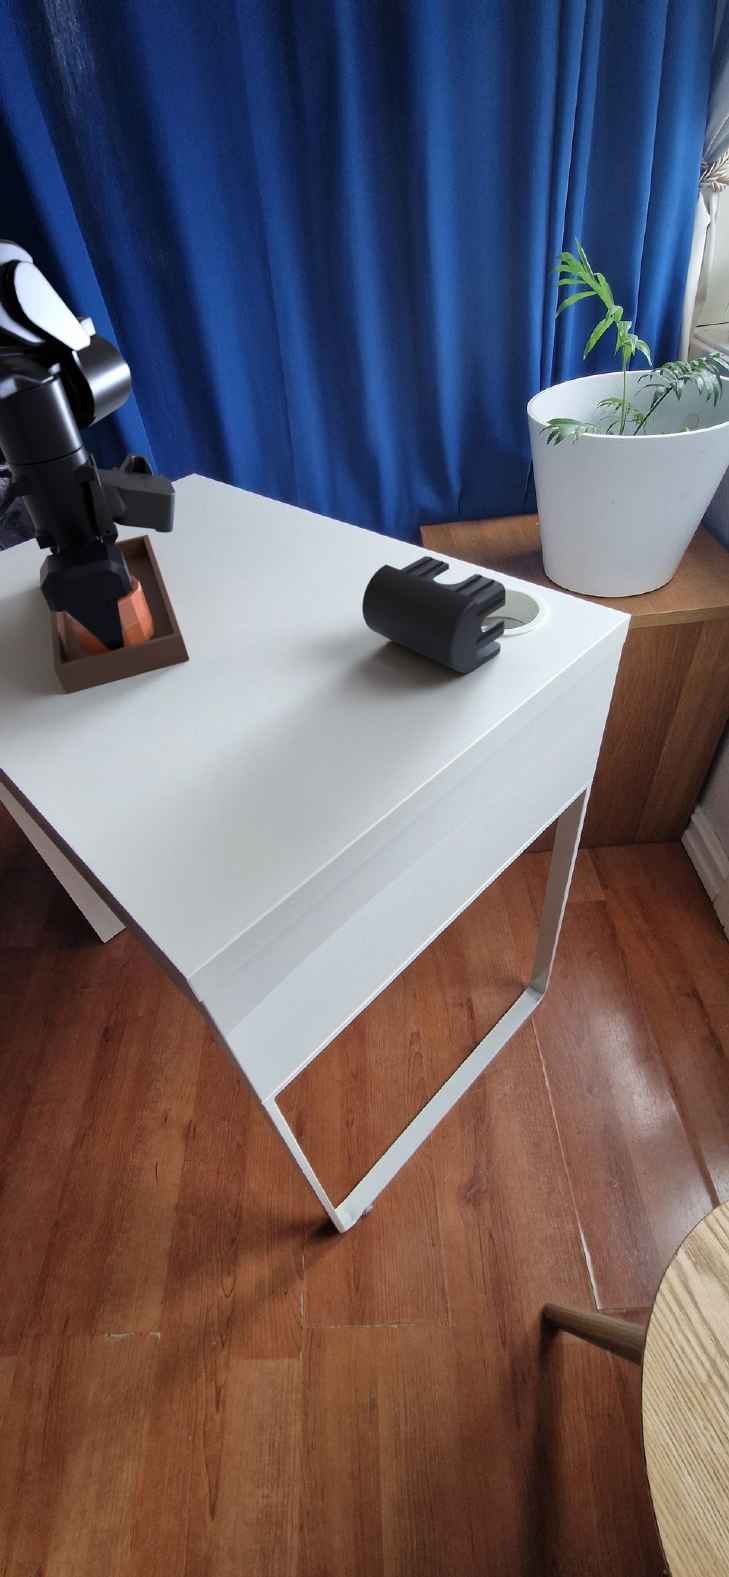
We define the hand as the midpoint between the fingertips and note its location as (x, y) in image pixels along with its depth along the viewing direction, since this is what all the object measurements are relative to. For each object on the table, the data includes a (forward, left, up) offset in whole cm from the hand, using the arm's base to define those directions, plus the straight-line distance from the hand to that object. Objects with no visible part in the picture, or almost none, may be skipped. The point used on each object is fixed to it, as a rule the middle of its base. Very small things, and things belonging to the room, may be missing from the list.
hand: (115, 632), depth 64 cm
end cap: (+20, -21, -2) cm, 29 cm away
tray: (+2, +7, -2) cm, 8 cm away
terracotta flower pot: (0, 0, -1) cm, 1 cm away
